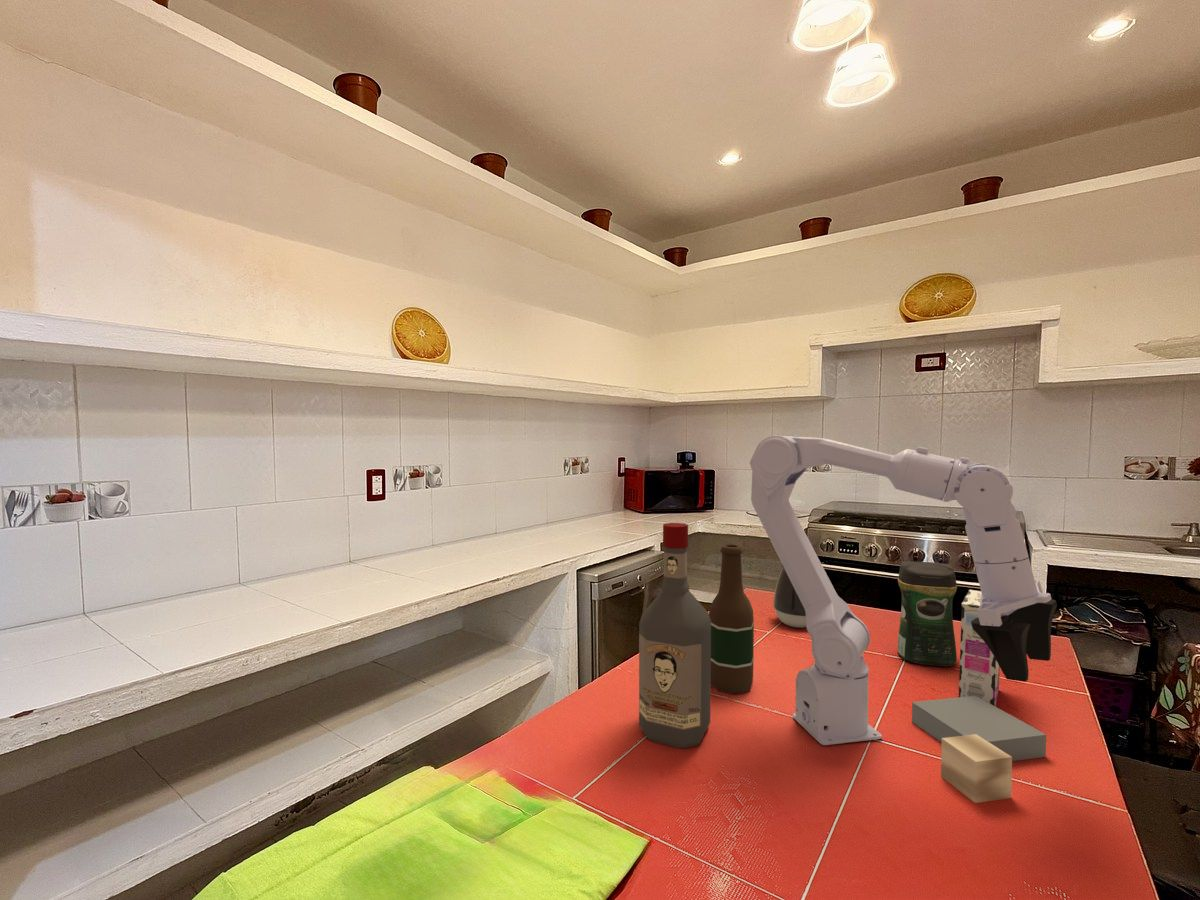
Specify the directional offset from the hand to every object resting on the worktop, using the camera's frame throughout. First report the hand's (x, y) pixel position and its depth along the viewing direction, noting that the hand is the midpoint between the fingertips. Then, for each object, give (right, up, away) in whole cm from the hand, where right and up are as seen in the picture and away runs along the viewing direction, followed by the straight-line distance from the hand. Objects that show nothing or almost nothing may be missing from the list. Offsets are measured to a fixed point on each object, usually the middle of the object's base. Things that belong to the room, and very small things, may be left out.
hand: (1028, 669), depth 67 cm
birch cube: (-7, -14, -1) cm, 16 cm away
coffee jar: (+9, -13, +37) cm, 40 cm away
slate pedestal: (0, -14, +10) cm, 17 cm away
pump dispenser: (-8, -13, +56) cm, 58 cm away
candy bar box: (+9, -14, +22) cm, 27 cm away
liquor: (-42, -14, +12) cm, 46 cm away
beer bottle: (-30, -14, +27) cm, 43 cm away
